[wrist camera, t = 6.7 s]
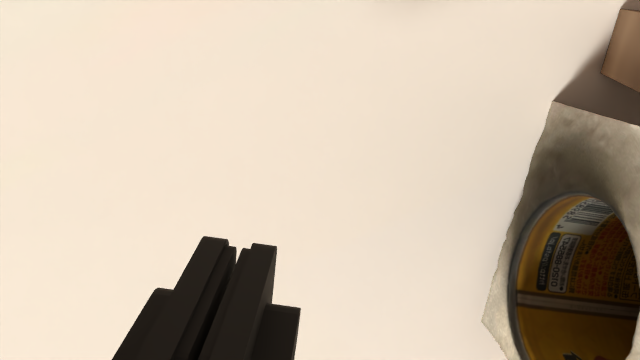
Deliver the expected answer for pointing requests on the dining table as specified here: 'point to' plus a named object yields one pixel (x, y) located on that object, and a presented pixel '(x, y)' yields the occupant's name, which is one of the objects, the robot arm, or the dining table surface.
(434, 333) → the dining table surface
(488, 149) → the dining table surface
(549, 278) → the condiment
